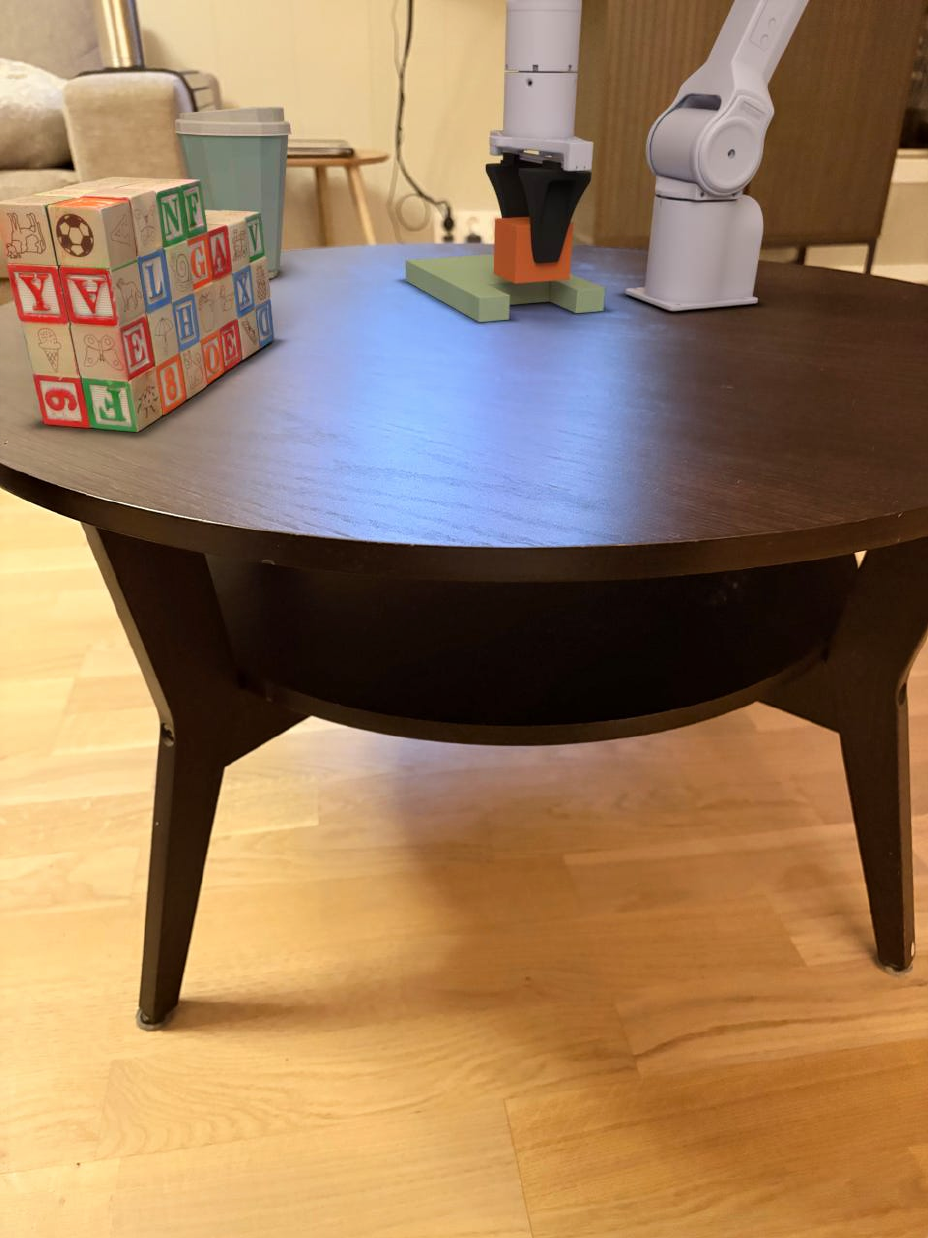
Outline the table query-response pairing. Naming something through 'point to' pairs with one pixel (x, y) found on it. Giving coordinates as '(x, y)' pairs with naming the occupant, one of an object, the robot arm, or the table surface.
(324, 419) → the table surface
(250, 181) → the disposable coffee cup
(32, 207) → the stack of blocks
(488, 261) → the base pad
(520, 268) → the orange cube
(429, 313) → the table surface
